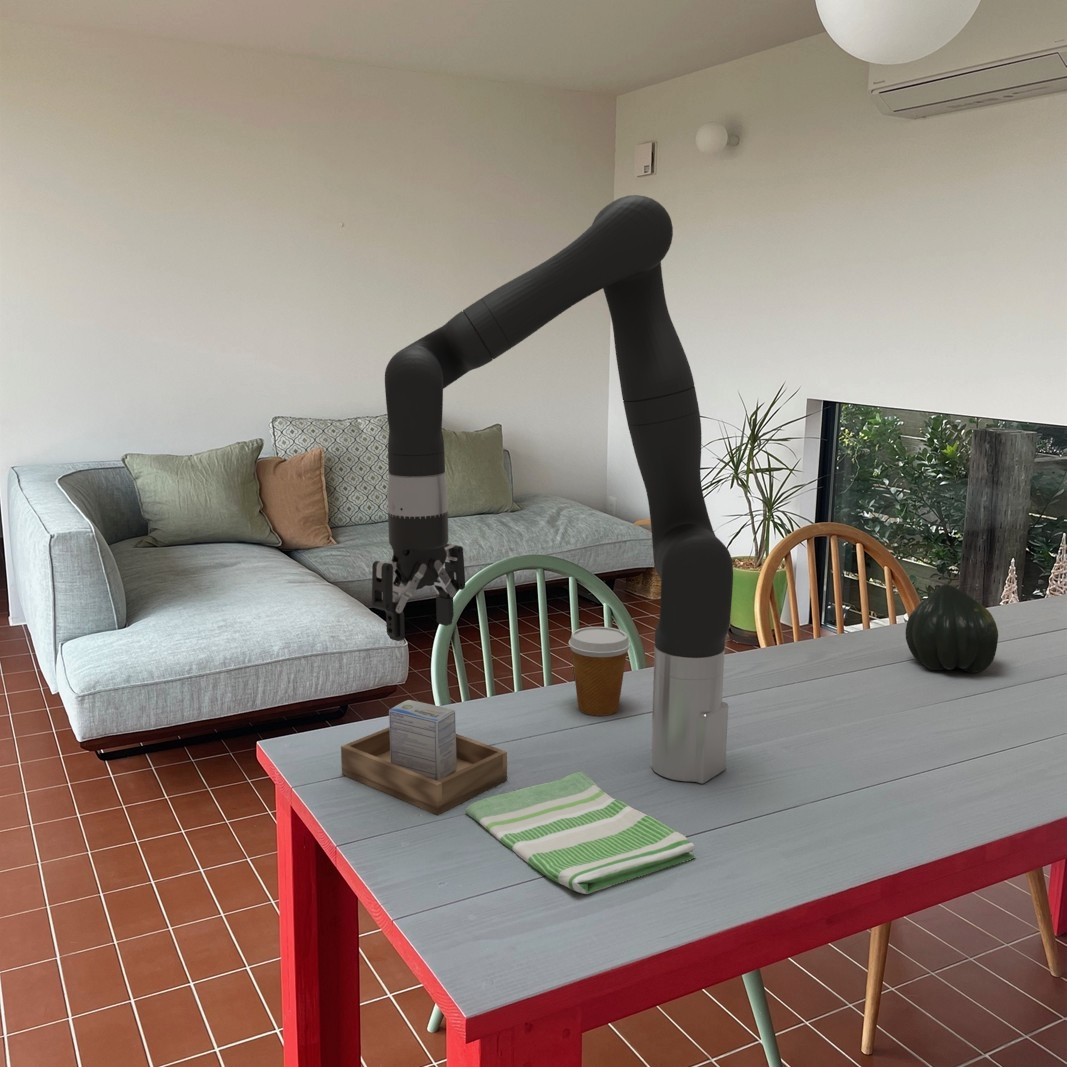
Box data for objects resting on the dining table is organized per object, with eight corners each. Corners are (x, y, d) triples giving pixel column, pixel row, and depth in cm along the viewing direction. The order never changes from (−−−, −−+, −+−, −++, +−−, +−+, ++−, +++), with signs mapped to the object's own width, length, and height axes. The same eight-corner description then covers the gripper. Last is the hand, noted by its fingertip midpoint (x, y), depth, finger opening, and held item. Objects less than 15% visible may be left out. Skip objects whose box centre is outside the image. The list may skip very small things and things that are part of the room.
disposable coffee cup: (624, 722, 159) (626, 646, 157) (562, 717, 161) (563, 642, 159) (631, 699, 168) (633, 627, 166) (573, 695, 170) (574, 624, 168)
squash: (994, 659, 172) (1001, 578, 179) (898, 649, 178) (908, 572, 185) (995, 693, 183) (1000, 616, 190) (904, 683, 190) (913, 609, 196)
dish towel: (583, 784, 140) (583, 765, 139) (700, 861, 120) (701, 839, 120) (464, 817, 130) (464, 797, 130) (571, 906, 111) (571, 883, 110)
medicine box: (457, 770, 140) (457, 709, 138) (438, 783, 136) (437, 720, 134) (409, 758, 144) (408, 698, 142) (389, 770, 140) (387, 708, 138)
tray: (507, 780, 140) (507, 751, 139) (437, 815, 130) (437, 785, 129) (412, 744, 151) (411, 718, 150) (341, 774, 141) (340, 746, 140)
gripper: (396, 520, 125) (400, 651, 128) (478, 503, 136) (480, 624, 139) (354, 513, 130) (359, 639, 133) (436, 497, 140) (439, 614, 144)
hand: (421, 631), depth 136 cm, fingers open, 8 cm apart
